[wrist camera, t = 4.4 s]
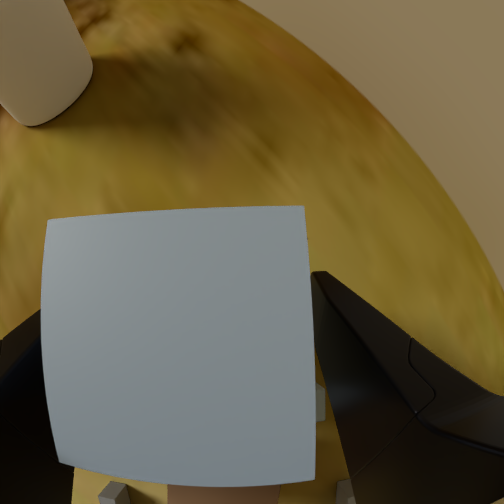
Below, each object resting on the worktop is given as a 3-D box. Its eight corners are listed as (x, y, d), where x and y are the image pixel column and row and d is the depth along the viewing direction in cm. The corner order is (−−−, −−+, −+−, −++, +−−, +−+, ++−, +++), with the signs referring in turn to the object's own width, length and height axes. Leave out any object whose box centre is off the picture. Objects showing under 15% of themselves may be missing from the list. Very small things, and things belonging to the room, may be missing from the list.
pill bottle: (20, 87, 18) (-49, -17, 3) (93, 46, 19) (44, -81, 4) (13, 146, 16) (-93, 29, 2) (99, 97, 17) (21, -68, 3)
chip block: (269, 487, 13) (275, 515, 10) (178, 477, 13) (167, 504, 10) (278, 427, 13) (286, 450, 11) (181, 417, 13) (168, 437, 10)
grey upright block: (312, 406, 14) (431, 527, 3) (137, 408, 13) (1, 509, 2) (307, 286, 15) (443, 208, 4) (131, 291, 15) (-34, 230, 4)
